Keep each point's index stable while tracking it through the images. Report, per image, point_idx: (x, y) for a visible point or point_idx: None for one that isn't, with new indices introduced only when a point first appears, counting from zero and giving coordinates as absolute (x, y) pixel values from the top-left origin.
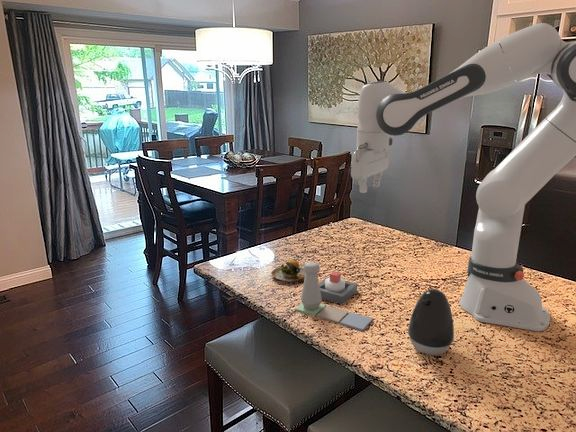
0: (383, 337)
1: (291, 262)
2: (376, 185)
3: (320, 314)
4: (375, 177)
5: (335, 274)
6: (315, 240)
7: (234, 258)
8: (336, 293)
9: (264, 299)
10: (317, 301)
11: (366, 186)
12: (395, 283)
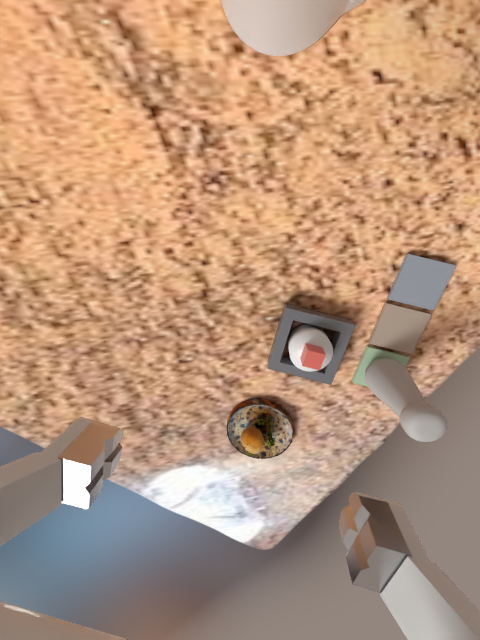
0: (473, 222)
1: (261, 446)
2: (117, 443)
3: (407, 348)
4: (22, 519)
5: (318, 359)
6: (69, 420)
7: (215, 517)
8: (343, 338)
9: (359, 441)
10: (403, 365)
11: (387, 553)
12: (219, 230)
